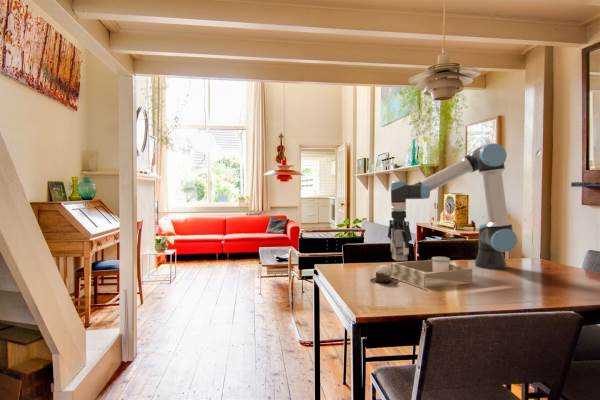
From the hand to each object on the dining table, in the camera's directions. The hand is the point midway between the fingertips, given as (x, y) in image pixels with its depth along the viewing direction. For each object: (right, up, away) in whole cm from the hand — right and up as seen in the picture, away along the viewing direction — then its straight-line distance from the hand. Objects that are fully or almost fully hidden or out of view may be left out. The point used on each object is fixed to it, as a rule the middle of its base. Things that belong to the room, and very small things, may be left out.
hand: (399, 252), depth 194 cm
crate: (+6, -9, -28) cm, 30 cm away
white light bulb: (+12, -8, -26) cm, 30 cm away
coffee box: (0, -4, 0) cm, 4 cm away
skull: (-15, -9, -28) cm, 33 cm away
